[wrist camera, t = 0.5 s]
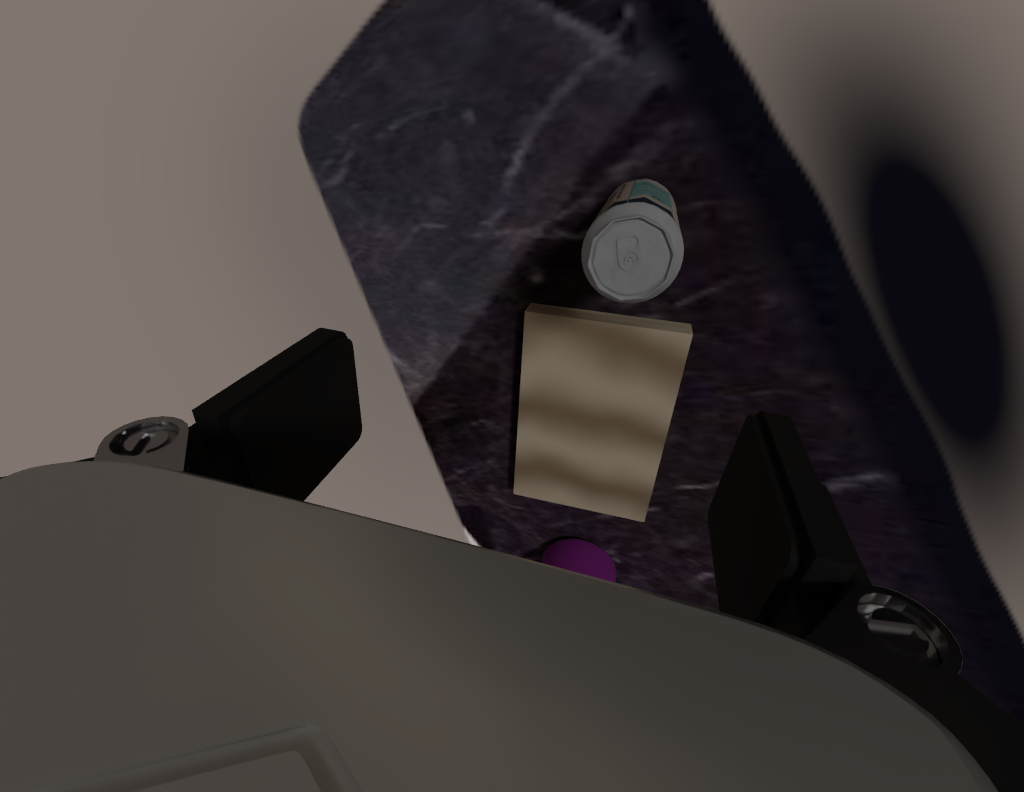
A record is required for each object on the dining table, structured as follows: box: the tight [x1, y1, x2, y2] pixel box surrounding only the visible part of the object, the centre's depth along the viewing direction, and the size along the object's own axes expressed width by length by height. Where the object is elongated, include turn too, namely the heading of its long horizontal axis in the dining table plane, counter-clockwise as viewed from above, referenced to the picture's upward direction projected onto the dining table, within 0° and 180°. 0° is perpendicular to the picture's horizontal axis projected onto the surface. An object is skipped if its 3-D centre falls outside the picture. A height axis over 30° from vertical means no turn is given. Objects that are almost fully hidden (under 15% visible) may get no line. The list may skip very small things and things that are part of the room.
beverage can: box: [541, 538, 616, 583], centre depth 44 cm, size 8×8×12 cm
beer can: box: [582, 179, 684, 303], centre depth 27 cm, size 5×5×12 cm
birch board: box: [513, 303, 693, 522], centre depth 40 cm, size 18×12×2 cm, turn 179°
